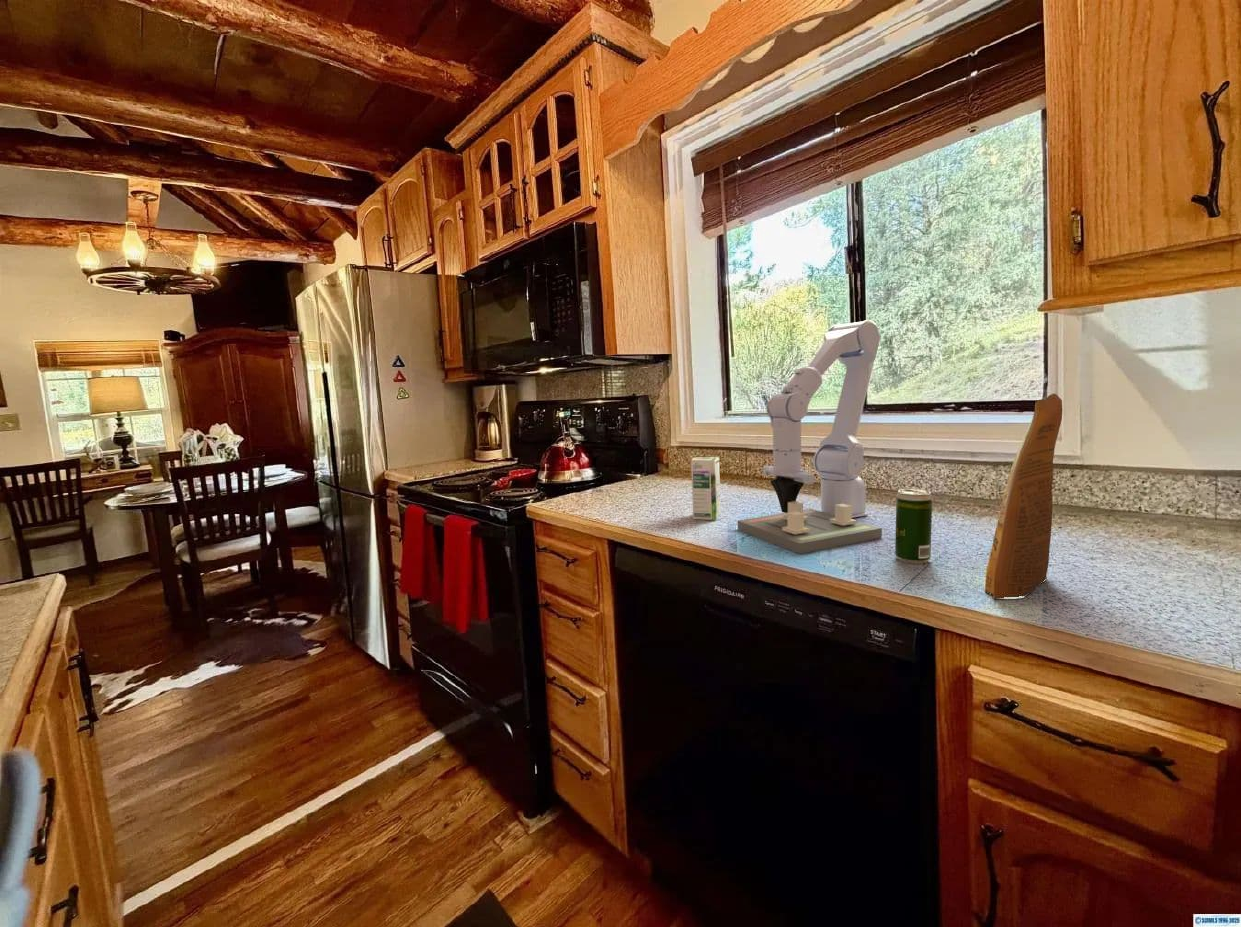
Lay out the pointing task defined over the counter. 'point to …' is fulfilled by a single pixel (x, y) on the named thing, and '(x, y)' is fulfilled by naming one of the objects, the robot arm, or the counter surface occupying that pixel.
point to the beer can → (913, 526)
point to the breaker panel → (819, 533)
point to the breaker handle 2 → (843, 515)
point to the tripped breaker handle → (795, 508)
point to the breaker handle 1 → (795, 523)
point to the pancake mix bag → (1026, 509)
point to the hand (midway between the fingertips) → (787, 511)
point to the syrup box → (705, 488)
